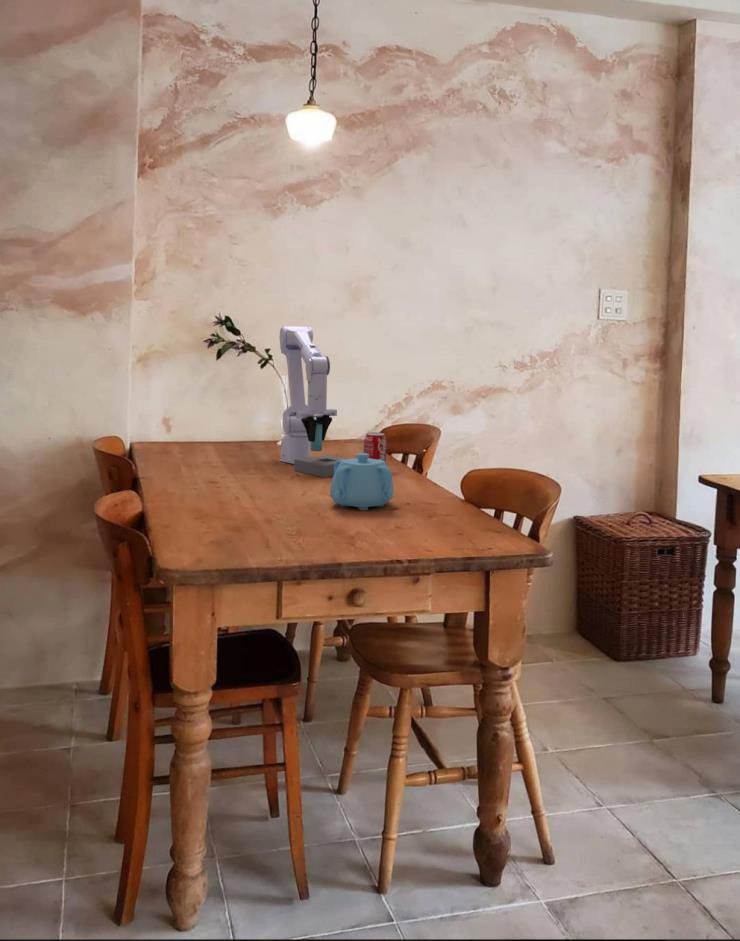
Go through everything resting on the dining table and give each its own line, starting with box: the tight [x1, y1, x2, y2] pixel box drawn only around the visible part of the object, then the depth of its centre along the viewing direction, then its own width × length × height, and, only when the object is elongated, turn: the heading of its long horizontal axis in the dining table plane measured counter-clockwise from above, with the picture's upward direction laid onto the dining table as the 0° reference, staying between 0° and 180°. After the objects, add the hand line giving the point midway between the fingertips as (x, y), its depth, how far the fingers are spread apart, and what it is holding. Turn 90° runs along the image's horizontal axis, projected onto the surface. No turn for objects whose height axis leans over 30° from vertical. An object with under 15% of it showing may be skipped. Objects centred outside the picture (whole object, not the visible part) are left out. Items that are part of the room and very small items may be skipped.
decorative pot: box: [329, 452, 394, 511], centre depth 238 cm, size 16×16×14 cm
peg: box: [310, 424, 323, 452], centre depth 282 cm, size 3×3×8 cm
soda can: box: [362, 431, 387, 463], centre depth 287 cm, size 7×7×12 cm
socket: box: [293, 454, 348, 478], centre depth 286 cm, size 14×14×4 cm
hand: (316, 440), depth 282 cm, fingers closed on peg, 3 cm apart
